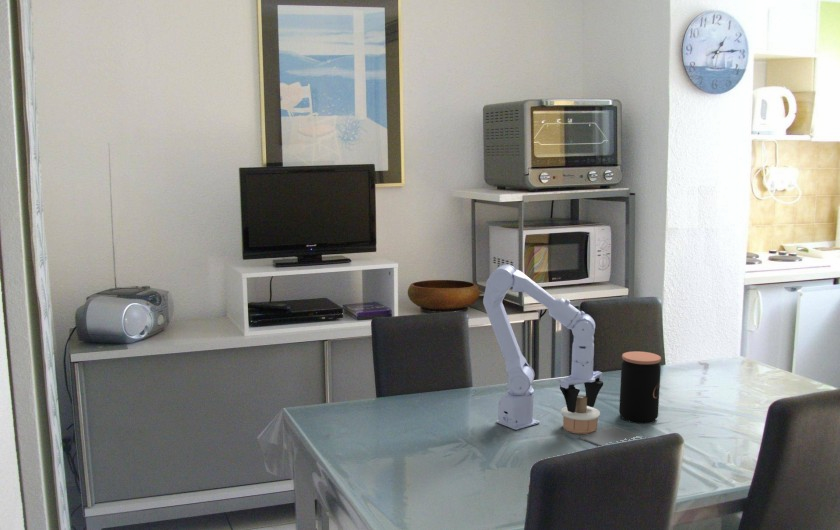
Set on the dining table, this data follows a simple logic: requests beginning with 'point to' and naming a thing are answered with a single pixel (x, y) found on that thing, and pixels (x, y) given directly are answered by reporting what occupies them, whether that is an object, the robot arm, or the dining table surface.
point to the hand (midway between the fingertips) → (580, 408)
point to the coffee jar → (640, 387)
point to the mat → (608, 436)
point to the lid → (581, 411)
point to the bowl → (580, 426)
